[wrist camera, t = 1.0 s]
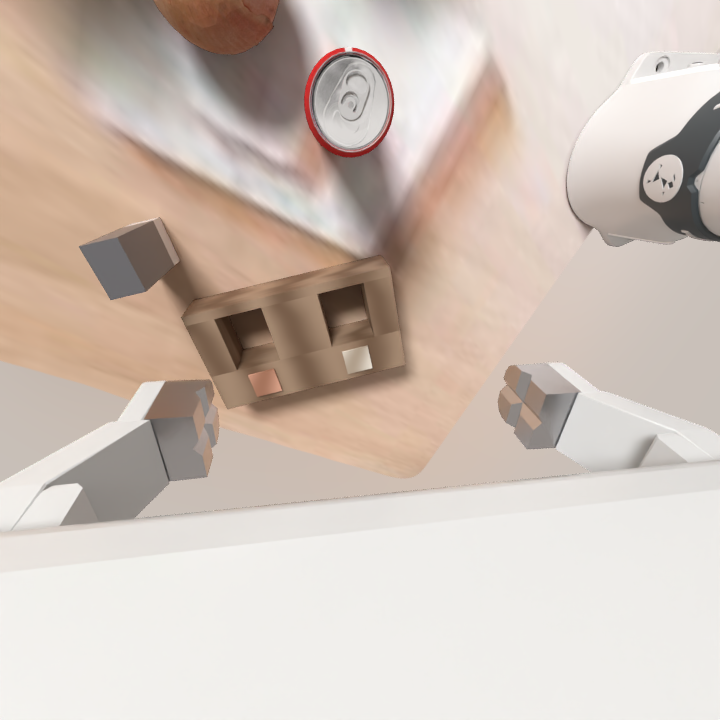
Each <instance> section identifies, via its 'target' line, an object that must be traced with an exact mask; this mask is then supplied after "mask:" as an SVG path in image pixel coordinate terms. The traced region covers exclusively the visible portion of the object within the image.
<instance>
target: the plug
mask: <svg viewBox="0 0 720 720" xmlns="http://www.w3.org/2000/svg"><path fill="white" fill-rule="evenodd" d="M79 248H80V249H81V251H82V253H83V255H84V256H85V258H86V260H87V261H88V263H89V265H90V266H91V268H92V270H93V271H94V273H95V275H96V276H97V278H98V280H99V281H100V283H101V285H102V286H103V288H104V290H105V291H106V293H107V295H108V296H109V298H110V300H113V299H117V298H121V297H126V296H130V295H134V294H138V293H142V292H146V291H147V290H148V289H149V288H151V287H152V286H153V285H154V284H155V283H156V282H157V281H158V280H159V279H160V278H161V277H163V276H164V275H165V274H166V273H167V272H168V271H169V270H170V269H171V268H172V267H174V266H175V265H176V264H177V263H178V262H179V261H180V260H179V257H178V255H177V253H176V251H175V249H174V247H173V244H172V242H171V240H170V238H169V236H168V234H167V232H166V229H165V227H164V225H163V223H162V221H161V219H160V217H159V218H154V219H150V220H146V221H142V222H137V223H133V224H130V225H127V226H125V227H123V228H120V229H118V230H116V231H114V232H111V233H109V234H107V235H104V236H102V237H100V238H97V239H95V240H93V241H90V242H88V243H86V244H83V245H81V246H79Z"/></svg>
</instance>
